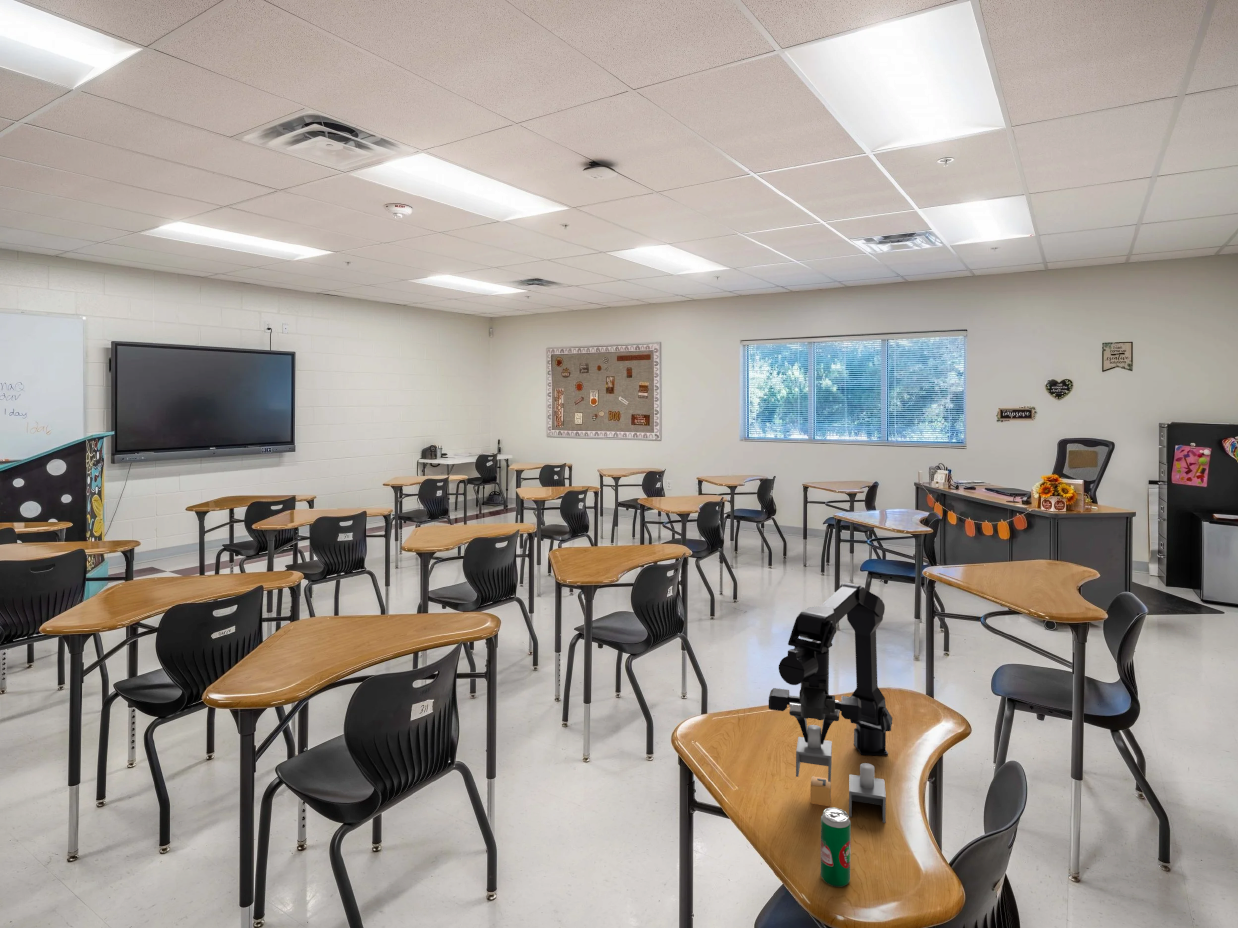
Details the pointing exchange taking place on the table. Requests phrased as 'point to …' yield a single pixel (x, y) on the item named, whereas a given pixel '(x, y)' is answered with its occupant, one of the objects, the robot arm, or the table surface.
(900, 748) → the table surface
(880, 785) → the hood
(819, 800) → the letter cube
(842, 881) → the soda can
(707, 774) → the table surface
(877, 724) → the robot arm
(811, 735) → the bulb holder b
